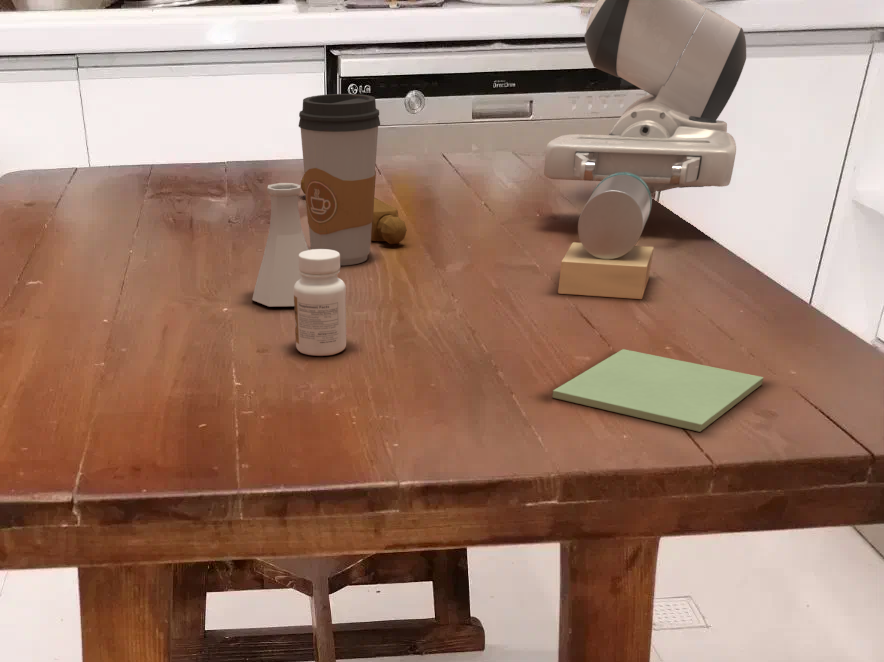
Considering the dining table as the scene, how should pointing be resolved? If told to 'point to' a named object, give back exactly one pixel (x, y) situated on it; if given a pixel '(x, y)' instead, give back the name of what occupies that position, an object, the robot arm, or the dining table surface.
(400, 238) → the tap handle
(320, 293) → the pill bottle
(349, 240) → the coffee cup
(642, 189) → the tumbler
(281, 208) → the flask
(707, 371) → the mat
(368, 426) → the dining table surface
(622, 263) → the plate
